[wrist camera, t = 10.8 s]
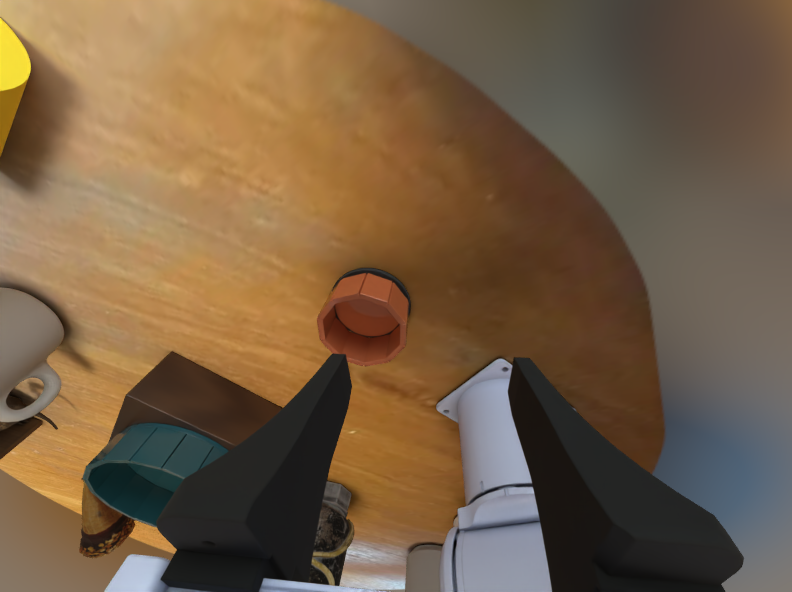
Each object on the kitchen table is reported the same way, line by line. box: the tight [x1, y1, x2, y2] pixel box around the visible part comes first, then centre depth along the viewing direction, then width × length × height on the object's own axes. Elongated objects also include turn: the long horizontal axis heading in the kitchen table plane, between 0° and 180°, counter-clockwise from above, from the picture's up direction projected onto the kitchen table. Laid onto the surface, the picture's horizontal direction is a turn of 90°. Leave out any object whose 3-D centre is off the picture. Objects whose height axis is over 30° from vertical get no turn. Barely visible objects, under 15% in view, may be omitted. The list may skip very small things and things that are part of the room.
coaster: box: [332, 268, 411, 338], centre depth 23 cm, size 6×6×1 cm
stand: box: [108, 352, 283, 451], centre depth 31 cm, size 13×13×5 cm
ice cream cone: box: [79, 478, 135, 558], centre depth 43 cm, size 6×6×15 cm
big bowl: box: [83, 423, 229, 527], centre depth 27 cm, size 12×12×3 cm
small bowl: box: [317, 273, 409, 366], centre depth 22 cm, size 6×6×3 cm
